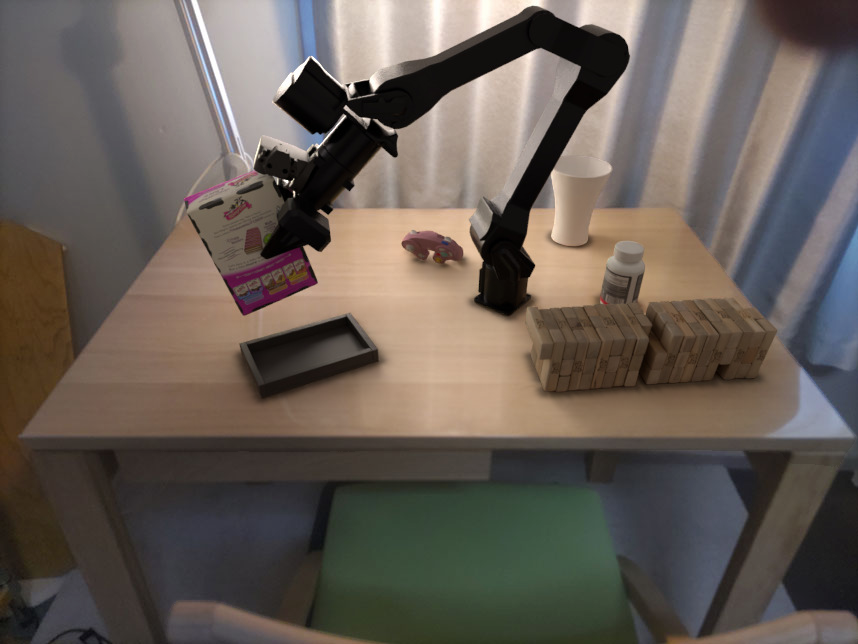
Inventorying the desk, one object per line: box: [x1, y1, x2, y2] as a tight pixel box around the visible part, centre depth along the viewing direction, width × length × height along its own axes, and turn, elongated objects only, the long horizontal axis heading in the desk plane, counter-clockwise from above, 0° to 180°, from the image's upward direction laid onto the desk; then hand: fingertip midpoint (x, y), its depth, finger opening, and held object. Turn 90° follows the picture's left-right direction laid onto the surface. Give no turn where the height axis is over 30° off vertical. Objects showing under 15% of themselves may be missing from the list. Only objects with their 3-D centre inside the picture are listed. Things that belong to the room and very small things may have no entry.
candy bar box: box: [183, 169, 319, 317], centre depth 78 cm, size 11×5×16 cm, turn 114°
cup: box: [550, 154, 614, 247], centre depth 105 cm, size 10×10×14 cm
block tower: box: [524, 296, 778, 393], centre depth 76 cm, size 8×8×29 cm
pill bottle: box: [599, 240, 646, 305], centre depth 88 cm, size 5×5×10 cm
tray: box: [238, 312, 379, 399], centre depth 79 cm, size 16×10×2 cm, turn 118°
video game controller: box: [401, 229, 464, 265], centre depth 100 cm, size 10×5×7 cm, turn 68°
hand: (264, 246), depth 79 cm, fingers closed on candy bar box, 5 cm apart
